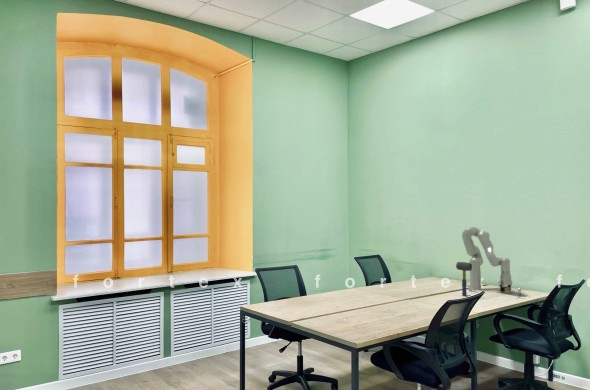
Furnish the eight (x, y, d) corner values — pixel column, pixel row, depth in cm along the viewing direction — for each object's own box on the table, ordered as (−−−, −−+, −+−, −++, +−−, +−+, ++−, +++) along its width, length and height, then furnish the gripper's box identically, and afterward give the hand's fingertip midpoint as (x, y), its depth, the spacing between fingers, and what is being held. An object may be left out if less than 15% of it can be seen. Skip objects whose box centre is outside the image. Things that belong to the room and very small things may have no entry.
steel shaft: (517, 295, 393) (517, 287, 393) (519, 294, 394) (519, 287, 394) (519, 295, 391) (519, 288, 391) (521, 295, 392) (521, 288, 392)
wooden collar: (499, 292, 407) (499, 286, 407) (504, 291, 410) (504, 285, 410) (506, 293, 400) (506, 288, 400) (511, 292, 403) (511, 287, 403)
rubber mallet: (473, 296, 396) (472, 262, 396) (468, 297, 391) (468, 263, 391) (460, 294, 405) (459, 261, 406) (455, 295, 400) (455, 261, 401)
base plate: (496, 293, 407) (496, 292, 407) (505, 292, 412) (505, 290, 412) (520, 298, 386) (520, 297, 386) (529, 297, 391) (529, 295, 391)
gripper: (502, 273, 398) (502, 292, 398) (515, 271, 406) (515, 290, 406) (495, 272, 405) (495, 291, 405) (508, 270, 413) (508, 289, 412)
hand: (505, 291), depth 405 cm, fingers open, 9 cm apart
